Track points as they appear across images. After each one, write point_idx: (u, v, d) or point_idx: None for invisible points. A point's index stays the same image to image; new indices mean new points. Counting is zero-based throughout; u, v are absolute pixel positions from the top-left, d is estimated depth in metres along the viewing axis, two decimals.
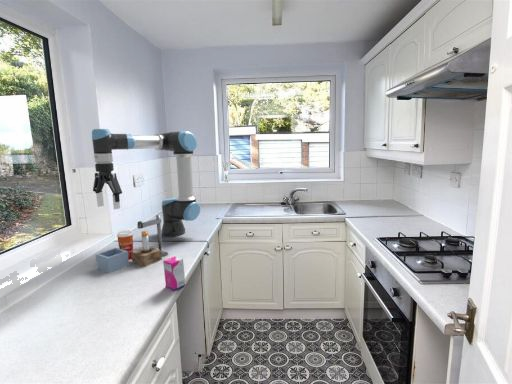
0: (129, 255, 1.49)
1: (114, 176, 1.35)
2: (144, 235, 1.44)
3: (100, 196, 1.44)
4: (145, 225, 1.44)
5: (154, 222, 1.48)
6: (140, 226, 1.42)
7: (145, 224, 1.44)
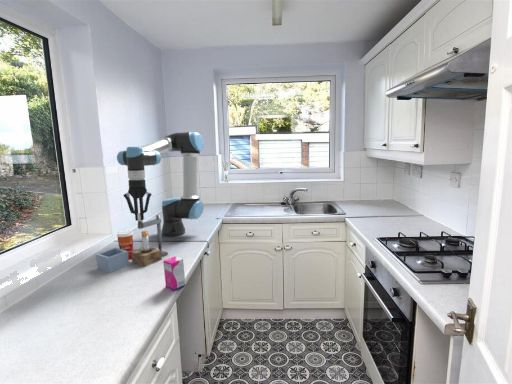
0: (129, 255, 1.49)
1: None
2: (144, 235, 1.44)
3: None
4: (145, 225, 1.44)
5: (154, 222, 1.48)
6: (140, 226, 1.42)
7: (145, 224, 1.44)
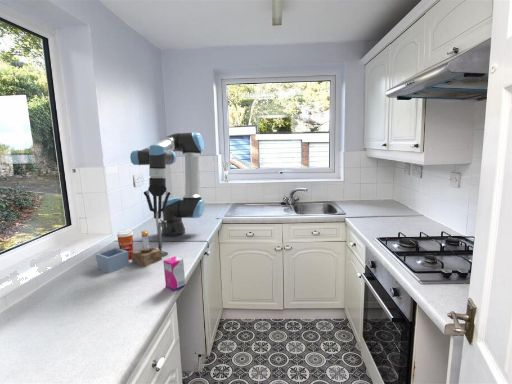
0: (129, 255, 1.49)
1: (169, 194, 1.45)
2: (144, 235, 1.44)
3: None
4: None
5: None
6: (166, 225, 1.43)
7: None
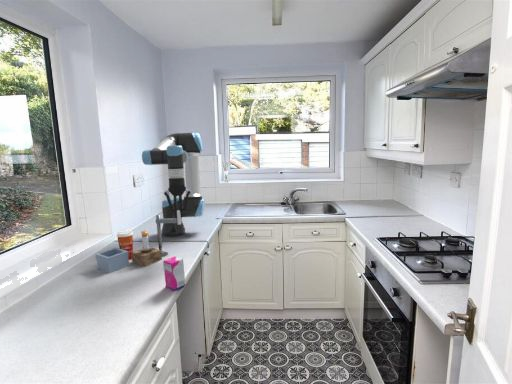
0: (129, 255, 1.49)
1: (189, 193, 1.48)
2: (144, 235, 1.44)
3: None
4: None
5: None
6: None
7: None
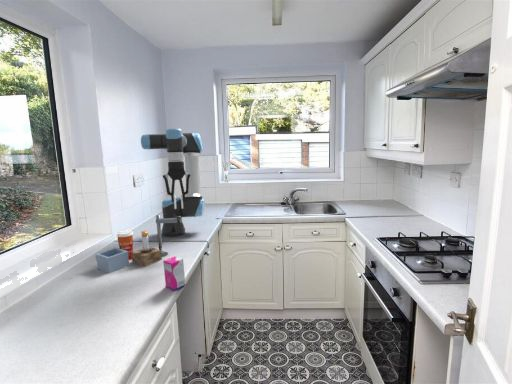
0: (129, 255, 1.49)
1: (189, 177, 1.47)
2: (144, 235, 1.44)
3: (175, 198, 1.47)
4: None
5: None
6: None
7: None
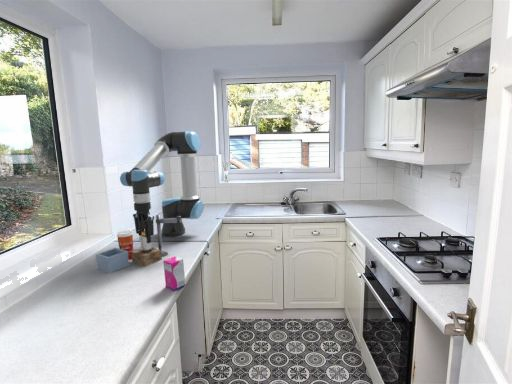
0: (129, 255, 1.49)
1: (152, 219, 1.41)
2: (144, 235, 1.44)
3: None
4: None
5: None
6: None
7: None
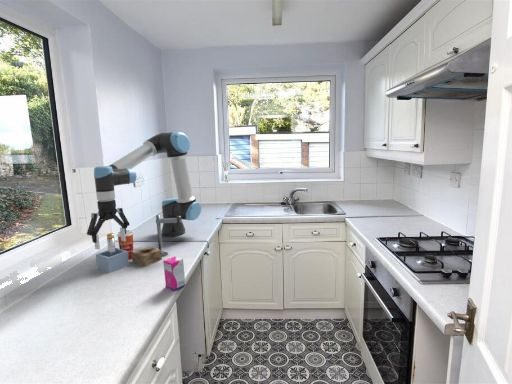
0: (129, 255, 1.49)
1: (93, 216, 1.31)
2: None
3: (122, 231, 1.43)
4: None
5: None
6: None
7: None
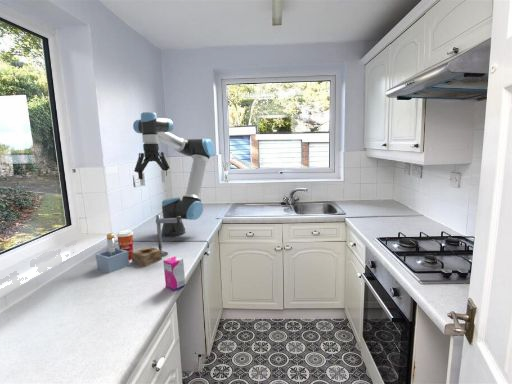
0: (129, 255, 1.49)
1: (140, 155, 1.48)
2: None
3: (163, 173, 1.61)
4: None
5: None
6: None
7: None
